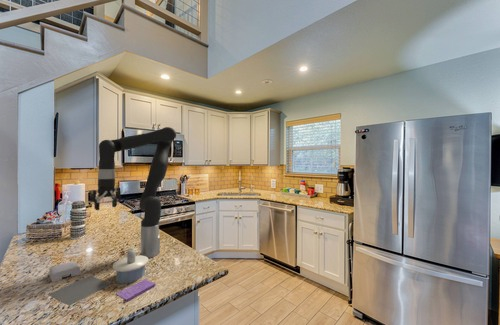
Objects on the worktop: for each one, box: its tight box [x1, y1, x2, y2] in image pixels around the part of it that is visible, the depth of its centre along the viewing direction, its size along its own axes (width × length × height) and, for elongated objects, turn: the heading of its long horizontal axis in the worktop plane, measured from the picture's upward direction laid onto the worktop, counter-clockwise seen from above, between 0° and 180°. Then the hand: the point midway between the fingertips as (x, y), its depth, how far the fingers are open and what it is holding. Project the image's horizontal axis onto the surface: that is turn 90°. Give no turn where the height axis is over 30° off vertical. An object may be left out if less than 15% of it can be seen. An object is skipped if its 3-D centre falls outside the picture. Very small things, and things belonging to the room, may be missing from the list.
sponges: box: [115, 278, 156, 303], centre depth 85 cm, size 7×13×2 cm, turn 151°
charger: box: [48, 260, 81, 283], centre depth 97 cm, size 5×9×15 cm
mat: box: [47, 275, 112, 306], centre depth 85 cm, size 15×15×1 cm
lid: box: [112, 249, 149, 272], centre depth 95 cm, size 14×14×6 cm
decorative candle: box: [69, 200, 87, 240], centre depth 146 cm, size 9×9×25 cm
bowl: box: [115, 265, 146, 284], centre depth 95 cm, size 11×11×6 cm
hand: (106, 208), depth 110 cm, fingers open, 8 cm apart
